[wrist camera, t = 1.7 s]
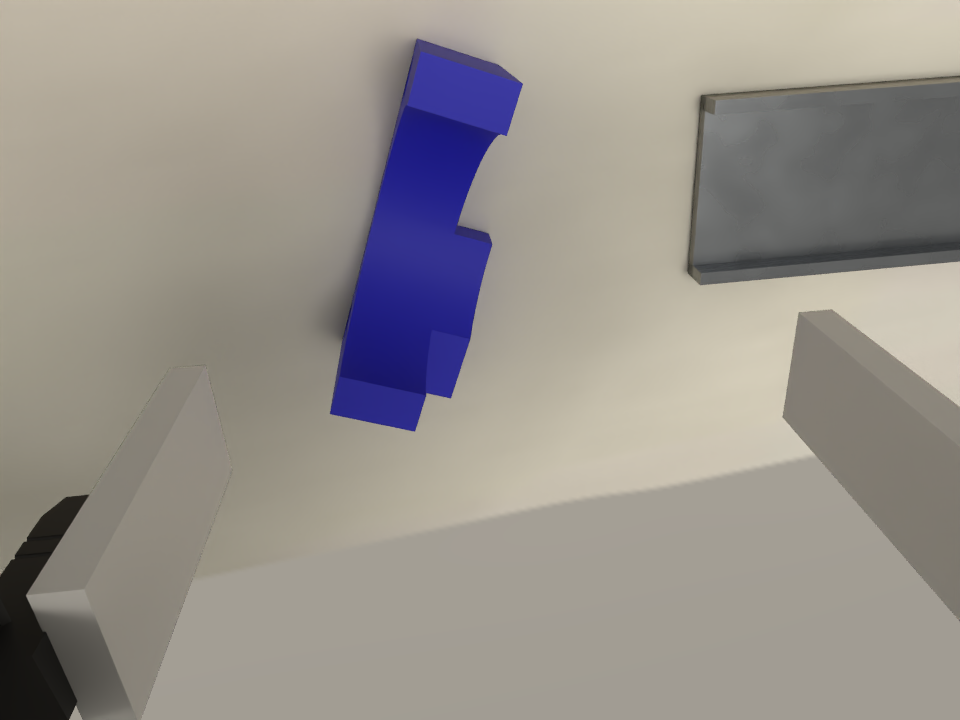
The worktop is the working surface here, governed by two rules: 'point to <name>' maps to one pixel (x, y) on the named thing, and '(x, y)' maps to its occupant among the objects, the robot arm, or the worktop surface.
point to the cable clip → (423, 242)
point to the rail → (826, 180)
